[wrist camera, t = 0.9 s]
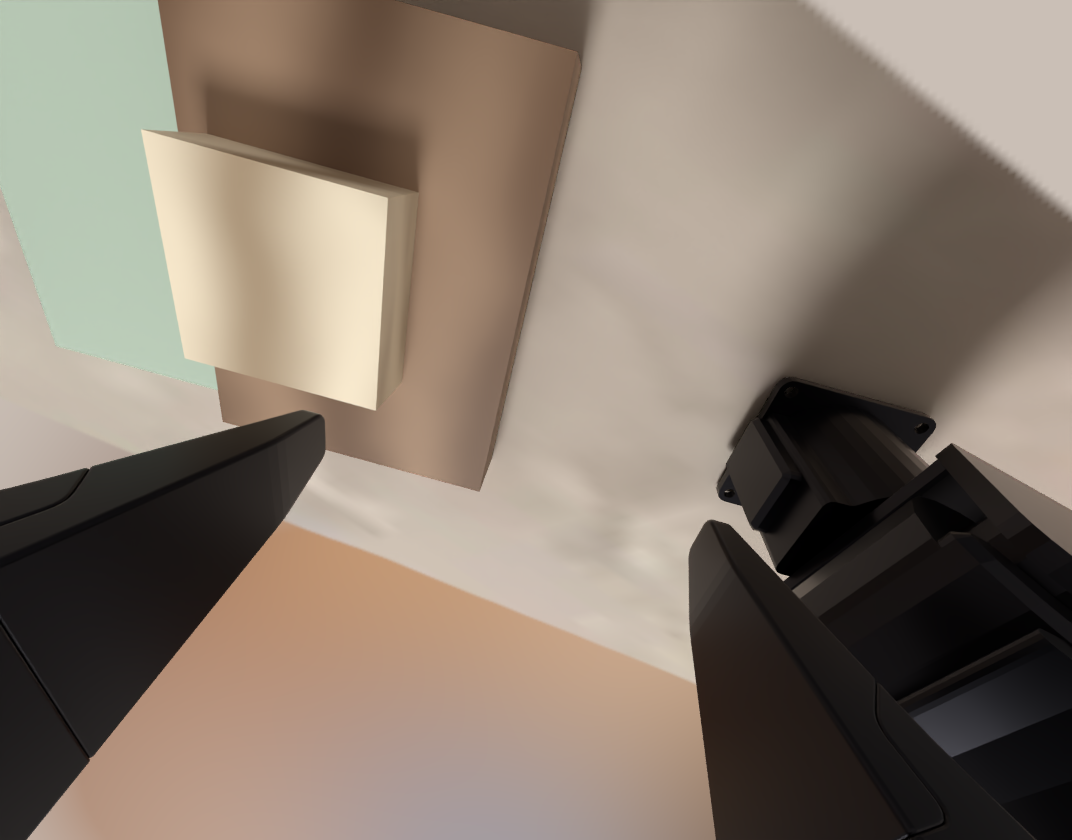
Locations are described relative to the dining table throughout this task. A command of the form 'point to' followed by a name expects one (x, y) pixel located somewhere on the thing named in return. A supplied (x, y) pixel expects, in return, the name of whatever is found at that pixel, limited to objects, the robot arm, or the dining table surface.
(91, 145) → the sage mat
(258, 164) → the birch block
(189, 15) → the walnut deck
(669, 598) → the dining table surface
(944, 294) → the dining table surface
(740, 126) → the dining table surface
